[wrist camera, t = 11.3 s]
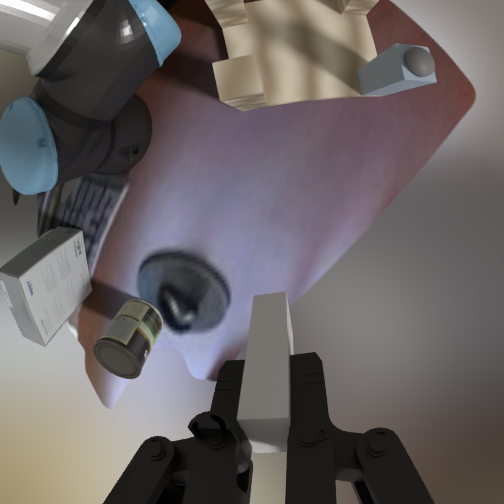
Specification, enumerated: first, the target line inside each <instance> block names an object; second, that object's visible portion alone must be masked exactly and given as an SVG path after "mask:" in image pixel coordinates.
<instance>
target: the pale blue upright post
mask: <svg viewBox="0 0 504 504" xmlns="http://www.w3.org/2000/svg"><path fill="white" fill-rule="evenodd" d="M434 69H435V63H434V60H433V58H432V56H431V55H430V52H429V48H428V47H421V46H414V45H405V44H395V45H393V46H392V47H390V48H389V49H387V50H386V51H384V52H383V53H381V54H380V55H378V56H377V57H375V58H374V59H373V60H371V61H370V62H368V63H367V64H365V65H364V66H363V67H361V68H360V69H358V70H357V74H358V79H359V83H360V88H361V93H362V96H365V95H388V94H392V93H396V92H399V91H403V90H407V89H411V88H415V87H419V86H423V85H427V84H431V83H436V82H437V81H436V77H435V72H434Z"/></svg>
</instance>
